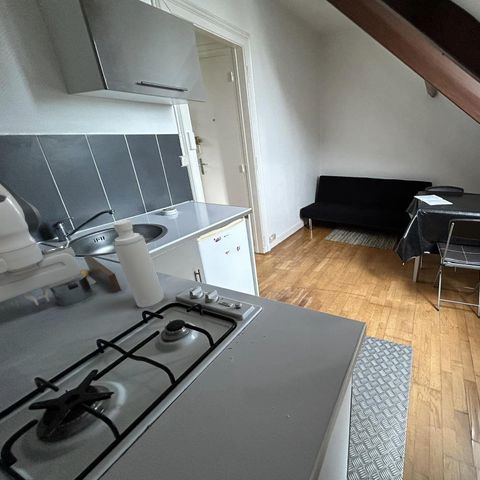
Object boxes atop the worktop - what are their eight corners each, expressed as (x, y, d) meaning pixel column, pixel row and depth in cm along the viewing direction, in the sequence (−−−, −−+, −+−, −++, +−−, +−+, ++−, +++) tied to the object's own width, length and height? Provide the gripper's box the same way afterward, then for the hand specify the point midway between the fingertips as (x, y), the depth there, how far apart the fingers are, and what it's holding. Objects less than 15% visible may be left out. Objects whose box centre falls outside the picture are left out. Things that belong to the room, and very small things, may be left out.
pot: (63, 310, 72) (53, 291, 69) (53, 299, 77) (44, 282, 75) (98, 295, 78) (90, 278, 75) (87, 286, 83) (79, 270, 81)
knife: (89, 285, 83) (87, 282, 83) (77, 274, 91) (76, 271, 91) (97, 282, 85) (96, 279, 85) (85, 271, 93) (83, 268, 93)
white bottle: (166, 300, 73) (136, 215, 63) (138, 311, 69) (102, 222, 60) (162, 290, 78) (134, 210, 68) (135, 300, 74) (102, 216, 65)
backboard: (115, 292, 79) (108, 275, 76) (90, 271, 93) (83, 256, 91) (121, 290, 80) (114, 273, 77) (95, 269, 94) (88, 254, 92)
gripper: (67, 241, 76) (87, 282, 81) (-46, 271, 61) (-14, 319, 66) (73, 245, 72) (93, 288, 77) (-47, 278, 57) (-12, 328, 63)
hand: (43, 302), depth 72 cm, fingers closed
